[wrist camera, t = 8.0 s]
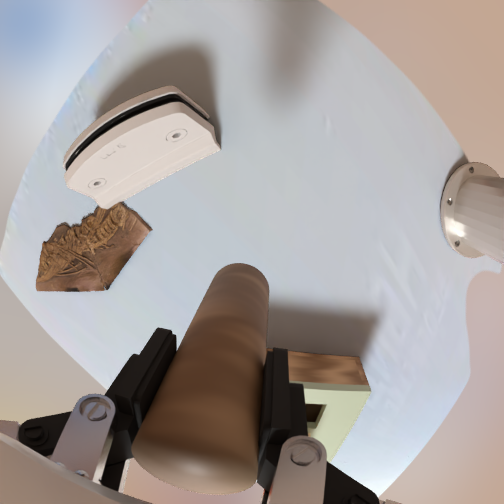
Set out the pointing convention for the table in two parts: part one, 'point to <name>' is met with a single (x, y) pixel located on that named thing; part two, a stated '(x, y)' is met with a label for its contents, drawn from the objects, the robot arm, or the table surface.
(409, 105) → the table surface
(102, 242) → the wooden fragment
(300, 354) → the box with square hole
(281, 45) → the table surface
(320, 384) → the lid
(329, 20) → the table surface
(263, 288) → the pin
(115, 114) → the white curved device casing
